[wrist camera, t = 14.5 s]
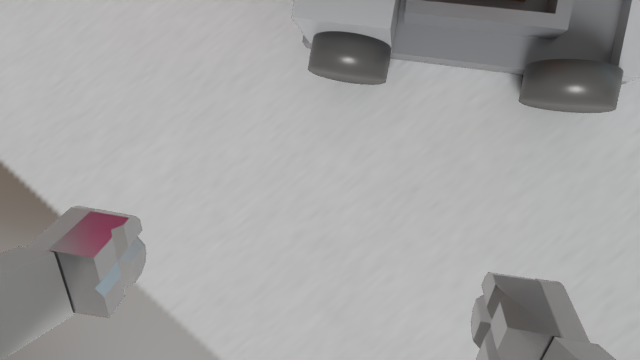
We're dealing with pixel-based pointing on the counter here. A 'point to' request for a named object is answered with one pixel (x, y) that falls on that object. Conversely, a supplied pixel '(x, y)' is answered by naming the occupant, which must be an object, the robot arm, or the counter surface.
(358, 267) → the counter surface
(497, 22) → the chassis
